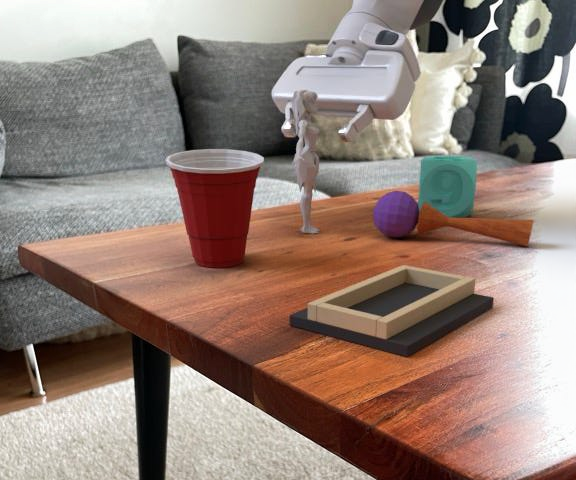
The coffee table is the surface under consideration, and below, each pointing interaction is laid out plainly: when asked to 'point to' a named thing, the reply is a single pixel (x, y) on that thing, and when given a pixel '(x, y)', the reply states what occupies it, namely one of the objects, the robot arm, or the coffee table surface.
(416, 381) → the coffee table surface
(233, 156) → the plastic cup
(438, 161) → the decorative dice
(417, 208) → the kendama
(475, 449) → the coffee table surface
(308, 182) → the human figurine
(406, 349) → the stand pad
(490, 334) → the coffee table surface
